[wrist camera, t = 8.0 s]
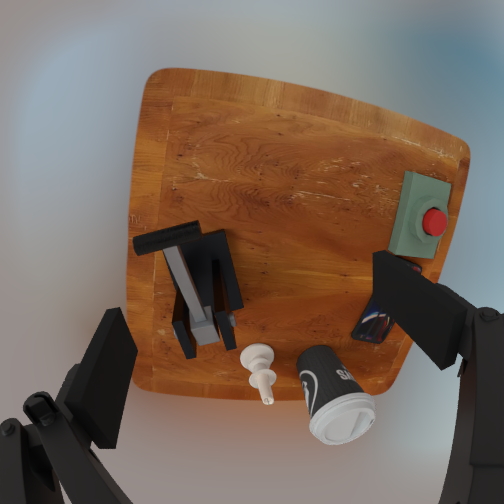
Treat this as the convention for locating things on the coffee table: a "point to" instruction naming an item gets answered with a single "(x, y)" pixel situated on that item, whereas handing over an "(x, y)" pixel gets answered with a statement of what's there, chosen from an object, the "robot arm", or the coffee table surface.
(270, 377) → the candle
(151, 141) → the coffee table surface
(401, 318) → the robot arm
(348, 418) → the coffee cup
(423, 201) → the button box
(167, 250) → the lever
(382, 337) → the smartphone
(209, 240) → the bracket
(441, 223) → the button
